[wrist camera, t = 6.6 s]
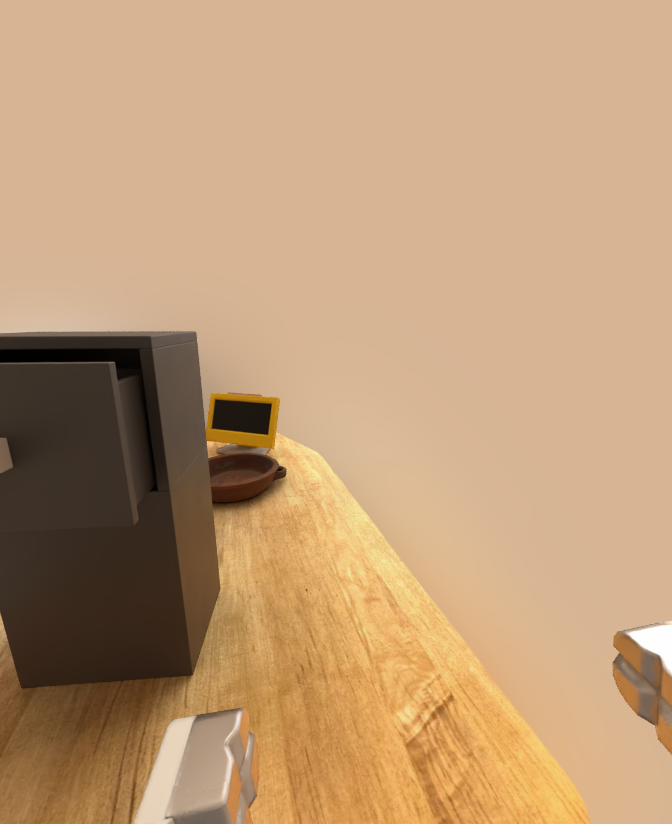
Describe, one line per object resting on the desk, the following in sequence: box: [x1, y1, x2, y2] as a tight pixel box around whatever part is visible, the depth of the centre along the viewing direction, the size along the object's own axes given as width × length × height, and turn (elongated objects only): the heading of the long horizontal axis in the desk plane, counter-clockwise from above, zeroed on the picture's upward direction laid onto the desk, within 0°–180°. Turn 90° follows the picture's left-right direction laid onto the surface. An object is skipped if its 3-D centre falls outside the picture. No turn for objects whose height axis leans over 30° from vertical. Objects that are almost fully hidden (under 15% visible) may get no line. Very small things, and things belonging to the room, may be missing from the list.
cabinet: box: [0, 331, 220, 688], centre depth 37 cm, size 12×16×33 cm
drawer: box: [0, 362, 157, 532], centre depth 24 cm, size 21×16×11 cm
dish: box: [208, 452, 286, 502], centre depth 75 cm, size 18×22×5 cm
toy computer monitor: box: [206, 393, 280, 455], centre depth 95 cm, size 20×8×16 cm, turn 71°
